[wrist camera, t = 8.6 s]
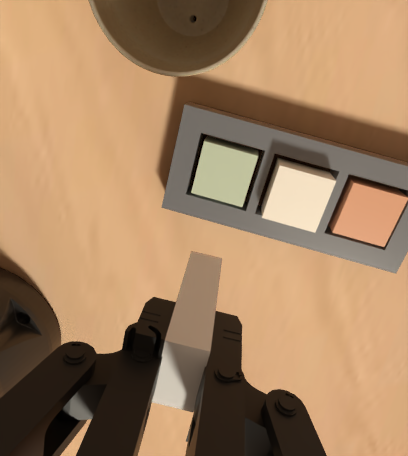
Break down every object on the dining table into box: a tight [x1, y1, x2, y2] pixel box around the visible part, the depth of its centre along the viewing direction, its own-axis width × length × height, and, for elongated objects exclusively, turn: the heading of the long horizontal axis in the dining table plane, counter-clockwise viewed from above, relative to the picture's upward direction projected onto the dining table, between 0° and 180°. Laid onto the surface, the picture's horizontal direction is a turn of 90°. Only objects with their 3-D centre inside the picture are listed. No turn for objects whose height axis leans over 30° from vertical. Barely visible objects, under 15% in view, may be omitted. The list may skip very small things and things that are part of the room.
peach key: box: [328, 175, 408, 247], centre depth 29 cm, size 4×4×2 cm
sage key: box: [191, 136, 258, 207], centre depth 29 cm, size 4×4×2 cm
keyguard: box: [162, 102, 408, 273], centre depth 29 cm, size 19×8×2 cm, turn 76°
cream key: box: [261, 158, 336, 233], centre depth 28 cm, size 4×4×2 cm
